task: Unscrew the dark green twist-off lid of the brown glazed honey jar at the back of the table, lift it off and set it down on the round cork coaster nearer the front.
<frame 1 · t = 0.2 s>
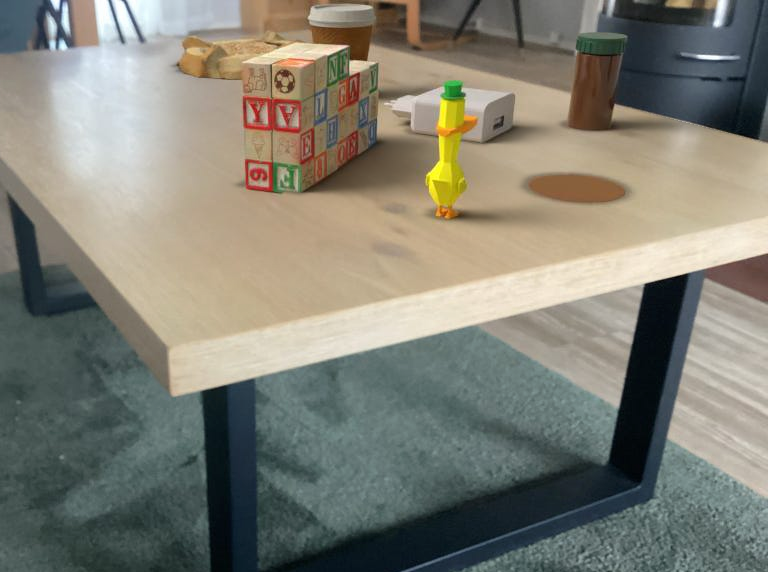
lid: (602, 39, 102), point 10 cm above the table, screwed on, not yet turned
disposable coffee cup: (340, 97, 125), on the table
stack of blocks: (316, 166, 93), on the table
coaster: (575, 191, 84), on the table
jar: (588, 128, 107), on the table
tan flat lumpy slab: (245, 67, 147), on the table
toy figure: (447, 219, 78), on the table
charger: (439, 131, 107), on the table
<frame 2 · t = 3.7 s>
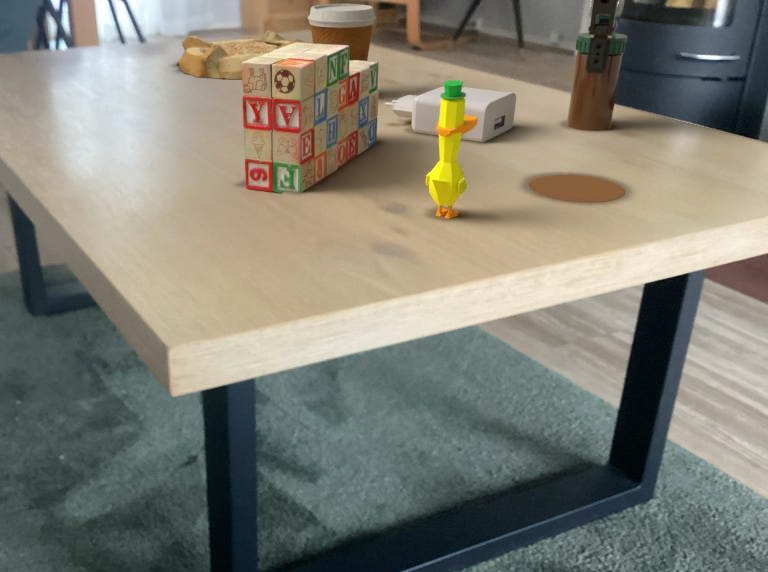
hand: (597, 67, 103), 7 cm above the table, tool pointing down, fingers closed on lid, 5 cm apart
lid: (602, 39, 102), point 10 cm above the table, screwed on, not yet turned, touching gripper
everything else where it was.
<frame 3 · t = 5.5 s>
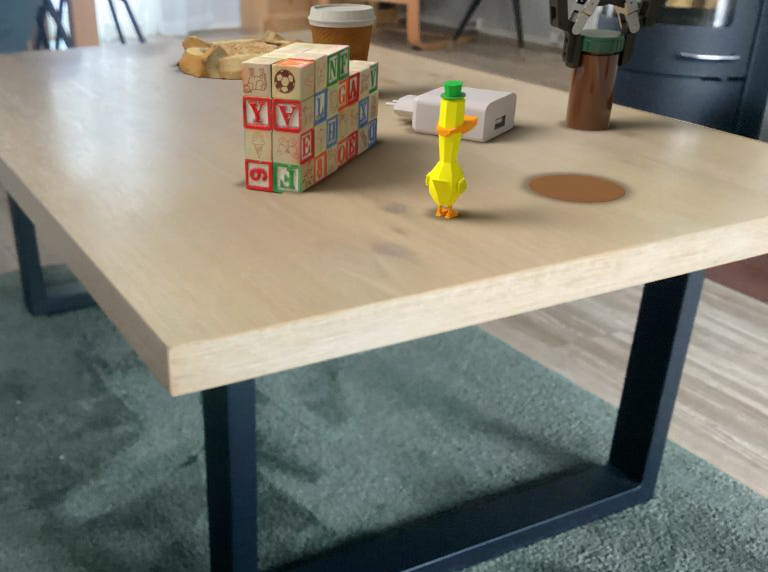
hand: (595, 65, 103), 8 cm above the table, tool pointing down, fingers closed on lid, 5 cm apart
lid: (600, 36, 101), point 11 cm above the table, off its thread, touching gripper
jar: (586, 128, 107), on the table, touching gripper
everything else where it was.
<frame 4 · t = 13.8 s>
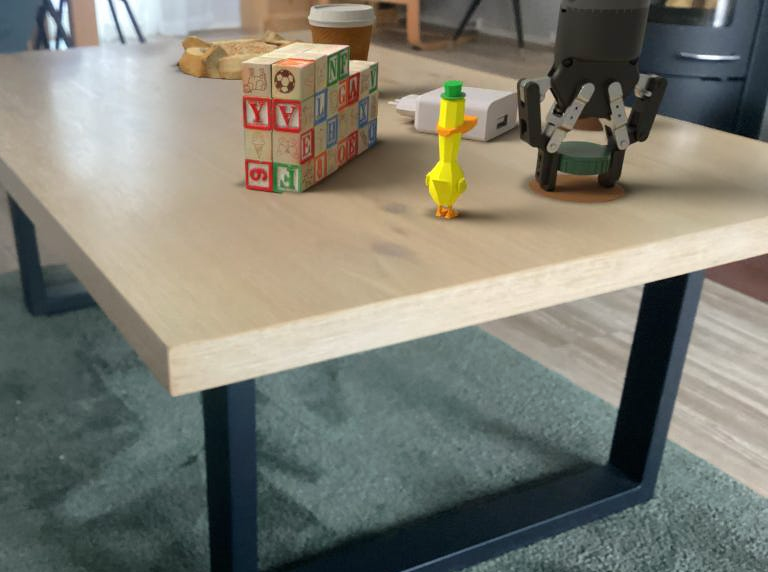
hand: (575, 186, 84), 1 cm above the table, tool pointing down, fingers closed on lid, 5 cm apart
lid: (581, 153, 83), point 4 cm above the table, off its thread, touching gripper
jar: (586, 128, 107), on the table
everything else where it was.
when the fingers open (2 cm above the table, at t = 21.6 s): lid drops 3 cm, resting on coaster.
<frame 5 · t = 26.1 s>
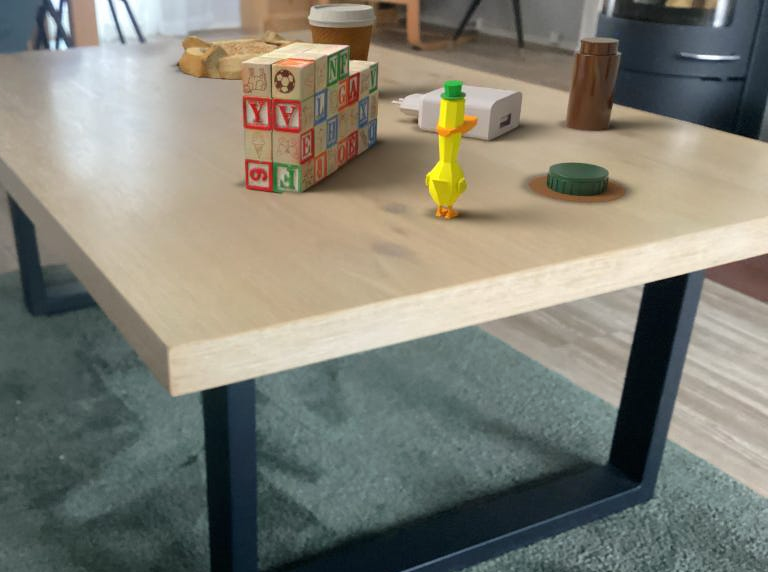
lid: (578, 174, 84), point 2 cm above the table, off its thread, touching coaster
at the end: lid inside the target area on the coaster (0.1 cm from its centre), point 1.7 cm above the coaster's base; the gripper is holding nothing; jar tilted 0° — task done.
